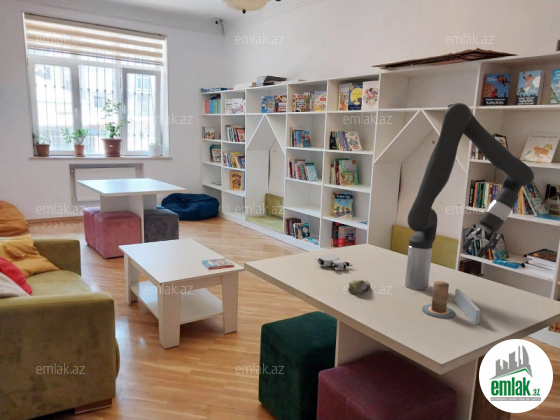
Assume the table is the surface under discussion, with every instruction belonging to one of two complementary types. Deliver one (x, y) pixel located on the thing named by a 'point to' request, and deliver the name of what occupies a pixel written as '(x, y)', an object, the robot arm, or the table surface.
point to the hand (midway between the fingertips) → (471, 253)
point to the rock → (358, 286)
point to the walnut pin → (440, 296)
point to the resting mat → (447, 314)
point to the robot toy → (332, 262)
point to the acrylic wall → (467, 306)
